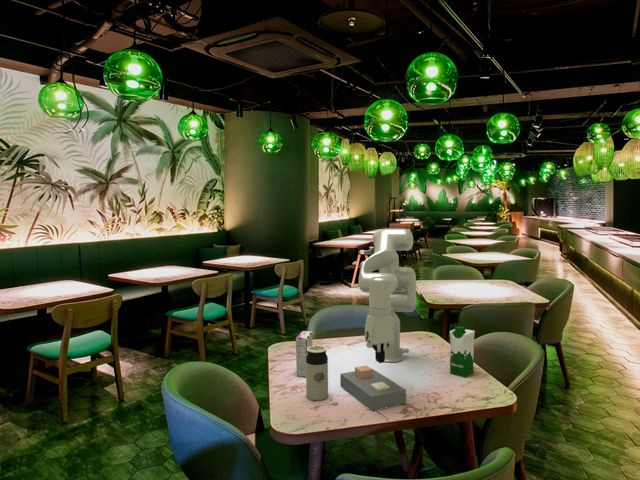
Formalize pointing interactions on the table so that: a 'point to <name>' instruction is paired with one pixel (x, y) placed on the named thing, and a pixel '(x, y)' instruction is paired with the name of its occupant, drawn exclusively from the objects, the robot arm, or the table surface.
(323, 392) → the travel mug
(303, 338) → the candy bar box
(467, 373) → the milk carton
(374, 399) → the gray socket board
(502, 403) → the table surface
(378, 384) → the cream cube
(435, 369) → the table surface
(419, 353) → the table surface
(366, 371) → the terracotta key
